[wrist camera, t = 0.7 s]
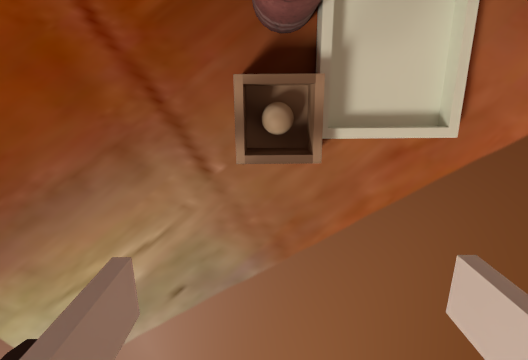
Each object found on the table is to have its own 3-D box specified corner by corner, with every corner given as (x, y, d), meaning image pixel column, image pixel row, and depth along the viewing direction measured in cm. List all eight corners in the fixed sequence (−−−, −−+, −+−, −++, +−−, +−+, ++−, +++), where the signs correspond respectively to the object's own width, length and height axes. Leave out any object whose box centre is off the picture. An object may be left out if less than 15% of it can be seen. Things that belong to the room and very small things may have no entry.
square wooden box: (237, 78, 31) (233, 74, 26) (315, 77, 31) (324, 73, 26) (240, 154, 33) (236, 163, 28) (312, 153, 33) (321, 163, 28)
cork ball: (261, 101, 31) (261, 102, 28) (292, 101, 31) (295, 101, 28) (261, 132, 32) (261, 136, 29) (291, 132, 32) (294, 136, 29)
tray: (319, -35, 28) (324, -48, 26) (467, -36, 28) (487, -49, 26) (313, 135, 33) (317, 138, 30) (442, 134, 33) (457, 137, 30)
